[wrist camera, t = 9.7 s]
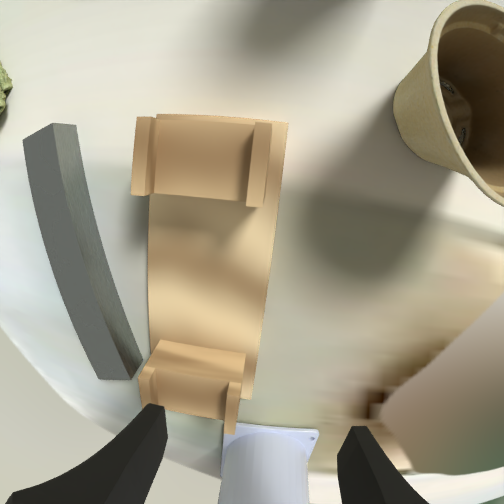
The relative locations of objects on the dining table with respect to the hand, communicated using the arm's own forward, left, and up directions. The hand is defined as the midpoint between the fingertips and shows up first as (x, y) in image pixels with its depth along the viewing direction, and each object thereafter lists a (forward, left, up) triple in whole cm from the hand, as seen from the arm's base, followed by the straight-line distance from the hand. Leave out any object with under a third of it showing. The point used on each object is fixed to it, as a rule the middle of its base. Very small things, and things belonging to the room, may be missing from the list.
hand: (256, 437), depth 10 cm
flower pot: (+14, -9, -11) cm, 20 cm away
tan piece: (+2, +4, -10) cm, 11 cm away
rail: (+3, +13, -11) cm, 17 cm away
